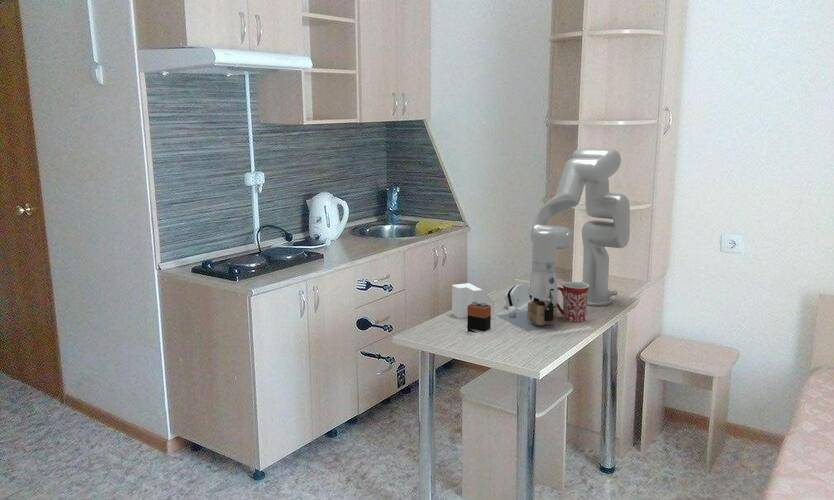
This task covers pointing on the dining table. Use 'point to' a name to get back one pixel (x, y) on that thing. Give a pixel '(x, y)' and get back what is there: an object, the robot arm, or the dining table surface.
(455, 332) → the dining table surface
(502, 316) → the peg stand
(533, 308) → the brown wooden hollow block
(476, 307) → the battery
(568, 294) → the mug
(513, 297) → the grey electronic device
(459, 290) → the corner bracket
